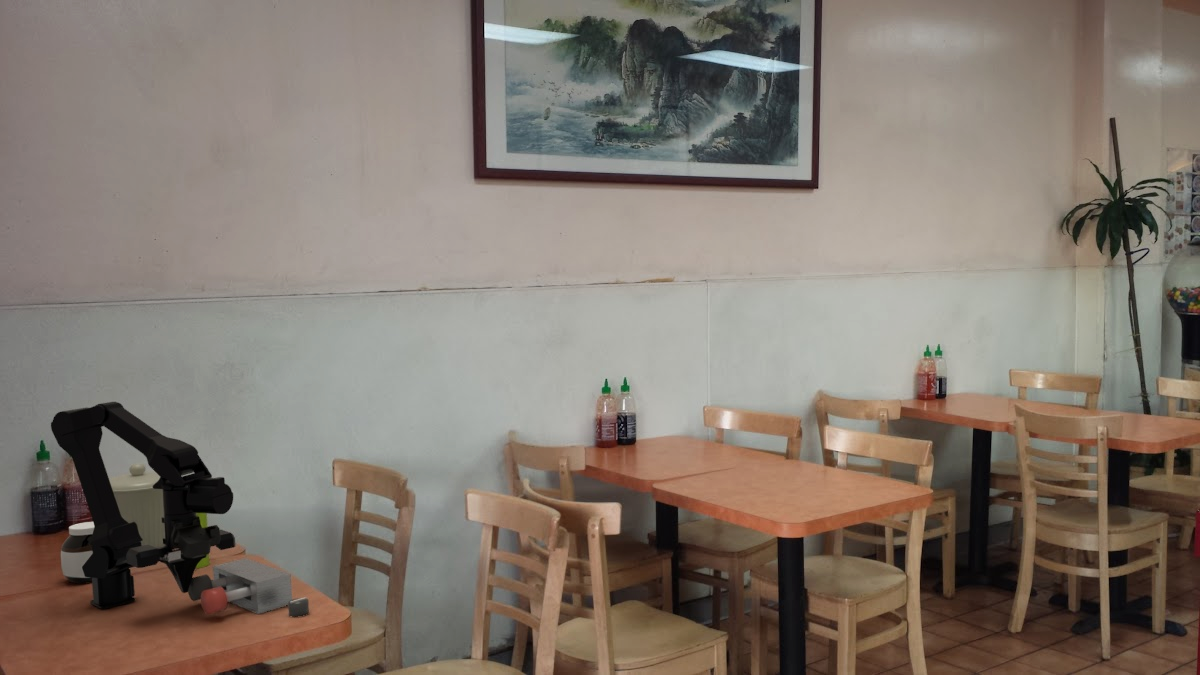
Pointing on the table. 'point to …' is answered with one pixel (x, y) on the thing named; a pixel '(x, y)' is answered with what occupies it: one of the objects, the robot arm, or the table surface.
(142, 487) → the canister
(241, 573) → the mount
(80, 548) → the spread jar
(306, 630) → the table surface
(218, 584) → the black knob
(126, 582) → the robot arm
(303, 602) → the dial
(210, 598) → the red knob
